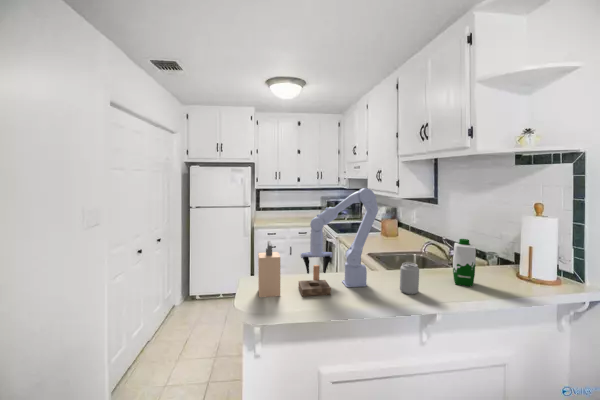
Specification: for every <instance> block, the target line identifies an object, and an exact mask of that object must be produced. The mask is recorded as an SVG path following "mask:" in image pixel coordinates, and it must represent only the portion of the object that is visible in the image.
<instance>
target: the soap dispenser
mask: <svg viewBox="0 0 600 400" xmlns="http://www.w3.org/2000/svg"><path fill="white" fill-rule="evenodd" d="M257 253H258V254H257V255H258V256H257V258H258V259H257V260H258V261H257V263H258V264H257V266H258V269H257V270H258V271H257V275H258V277H257V278H258V290H257V291H258V296H259V298H270V297H272V298H273V297H281V255H280V252H279V251H273V245H272V242H271V240H267V247H266V248H265V252H257Z"/></svg>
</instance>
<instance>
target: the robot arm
mask: <svg viewBox="0 0 600 400" xmlns="http://www.w3.org/2000/svg"><path fill="white" fill-rule="evenodd" d="M360 203H362V204H363V206H364V209H365V213H364V215H363V217H362V220H361V221H360V225H359V227H358V230H357V232H356V235H355V237H354V239H353V241H352V243H351V245H350V246H349V248H348V249H347V250H346V251H345V255H344V256H345V258H346V261H345V263H344V279H342V280H341V282H342V284H343V285H344V286H345V287H346V288H357V287H358V288H361V287H367V286H368V285H367V277H368V276H367V273H368V272H367V267H366V265H365V264H363V263H361V262H362V254H363V248H364V246H365V244H366V241H367V238H368V236H369V234H370V231H371V229H372V228H373V224H374V222H375V220H376V218H377V214H378V213H379V207H378V206H379V205H378V203H377V196H376V194H375V193H374V191H373V190H372V189H370V188H367V187H362V188H360V189H359V190H357V191H355V192H353V193H352V194H350V195H348V196H347V197H345V198H344V199H343V200H342V201H340V202H339V203H338V204H336V205H335V206H333V207H332V206H329V207H326V208H324V210H323V211H322V212H320V213H317V214H316V216H315V217H313V218H312V219H311V220H310V224H309V226H310V236H309V237H310V238H309V239H310V247H309V248H310V250H309V252H307V251H306V252H300V254H299V255H300V259H302V260H303V262H304V264H305V265H304V266H305V268H306V269H305V270H306V274H310V259H311V258H322V261H323V262H322V263H323V266H322V273H324V274H326V272H327V268H328V266H329V263H330V262H331V258H333V252H331V251H323V250H324V249H323V248H324V233H323V229H324V226H327V225H328V224H329V223H332V222H334V220H336V219H337V218H338V216H339V213H341V212H342V211H344V210H345V209H347V208H349V207H350V206H351V205H353V204H360Z"/></svg>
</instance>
